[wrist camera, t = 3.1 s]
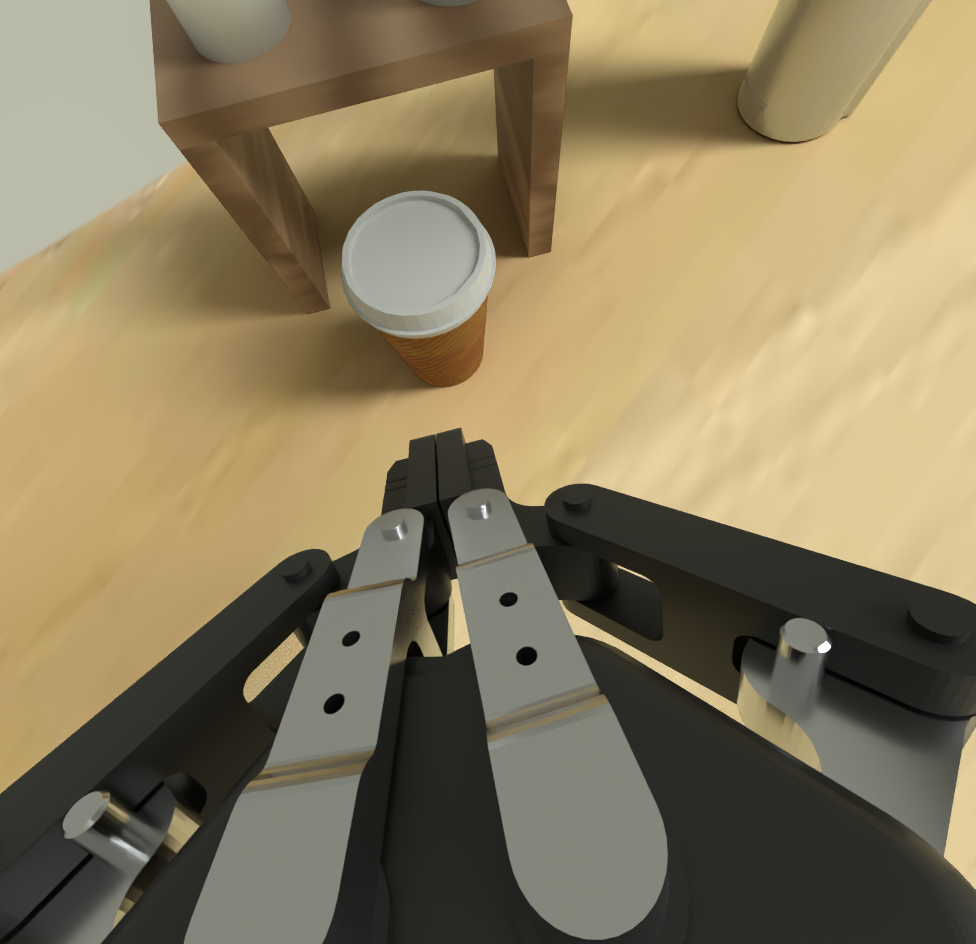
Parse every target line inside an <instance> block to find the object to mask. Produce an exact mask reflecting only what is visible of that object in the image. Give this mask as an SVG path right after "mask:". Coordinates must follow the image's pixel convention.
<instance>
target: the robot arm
mask: <svg viewBox="0 0 976 944" xmlns="http://www.w3.org/2000/svg"><path fill="white" fill-rule="evenodd" d="M931 1H932V0H779V1H778V4H777V6H776V8H775V10H774V13H773V15H772V17H771V19H770V22H769V24H768V26H767V28H766V31H765V33H764V35H763V37H762V40H761V42H760V44H759V46H758V48H757V51H756V53H755V55H754V58H753V60H752V62H751V64H750V67H749V69H748V71H747V73H746V76H745V78H744V80H743V82H742V85H741V87H740V89H739V92H738V97H737V103H738V108H739V111H740V114H741V116H742V117H743V119H744V120H745V122H746V123H747V124H748V125H749V126H750V127H751V128H752V129H754V130H755V131H757V132H759V133H760V134H762V135H764V136H767V137H769V138H772V139H776V140H780V141H789V142H798V141H807V140H810V139H814V138H817V137H819V136H821V135H823V134H825V133H827V132H828V131H829V130H831V129H832V128H833V127H834V126H835V124H836V123H837V122H838V121H839V120H840V119H841V118H842V117H845V116H849V115H851V114H852V113H853V111H854V110H855V109H856V107H857V106H858V104H859V103H860V102H861V100H862V99H863V97H864V96H865V94H866V93H867V92H868V90H869V89H870V87H871V86H872V85H873V83H874V82H875V80H876V79H877V77H878V76H879V75H880V73H881V72H882V70H883V69H884V68H885V66H886V65H887V63H888V62H889V60H890V59H891V58H892V56H893V55H894V53H895V52H896V51H897V49H898V48H899V46H900V45H901V43H902V42H903V41H904V39H905V38H906V36H907V35H908V34H909V32H910V31H911V29H912V28H913V26H914V25H915V24H916V22H917V21H918V19H919V18H920V17H921V15H922V14H923V12H924V11H925V9H926V8H927V7H928V5H929V4H930V2H931ZM618 565H619V566H622V567H624V568H626V569H629V570H631V571H633V572H636V573H638V574H640V575H643V576H645V577H646V578H648V579H649V580H651V581H652V582H650V581H648V580H646V579H643V578H641V577H639V576H637V575H634V574H632V573H630V572H627V571H625V570H623V569H620V568H618ZM457 578H458V582H459V587H460V592H461V597H462V602H463V608H464V613H465V618H466V623H467V628H468V633H469V638H470V644H468V645H466V646H464V647H462V648H460V649H458V650H456V651H454V617H455V604H454V600H453V597H452V595H451V591H452V587H451V580H453V579H457ZM559 600H562V602H563V604H564V606H565V607H566V609H567V610H568V611H570V612H571V613H573V614H574V615H576V616H578V617H580V618H581V619H583V620H585V621H587V622H589V623H590V624H592V625H594V626H596V627H598V628H600V629H601V630H603V631H605V632H607V633H609V634H610V635H612V636H614V637H616V638H618V639H619V640H621V641H623V642H625V643H627V644H628V645H630V646H632V647H634V648H636V649H638V650H639V651H641V652H643V653H645V654H647V655H648V656H650V657H652V658H654V659H656V660H657V661H659V662H661V663H663V664H665V665H666V666H668V667H670V668H672V669H674V670H676V671H677V672H679V673H681V674H683V675H685V676H686V677H688V678H690V679H692V680H694V681H695V682H697V683H699V684H701V685H703V686H704V687H706V688H708V689H710V690H712V691H714V692H715V693H717V694H719V695H721V696H723V697H724V698H726V699H728V700H730V701H732V702H733V703H735V704H737V707H738V711H739V714H740V716H741V719H742V721H743V722H744V724H745V726H746V727H745V726H744V725H742V724H741V723H739V722H737V721H736V720H734V719H732V718H731V717H729V716H727V715H726V714H724V713H723V712H721V711H719V710H718V709H716V708H714V707H713V706H711V705H709V704H708V703H706V702H705V701H703V700H701V699H700V698H698V697H696V696H695V695H693V694H692V693H690V692H688V691H687V690H685V689H683V688H682V687H680V686H678V685H677V684H675V683H674V682H672V681H670V680H669V679H667V678H665V677H664V676H662V675H660V674H659V673H657V672H656V671H654V670H652V669H651V668H649V667H647V666H646V665H644V664H642V663H641V662H639V661H638V660H636V659H634V658H633V657H631V656H629V655H628V654H626V653H624V652H623V651H621V650H619V649H617V648H616V647H613V646H611V645H609V644H607V643H605V642H602V641H599V640H596V639H593V638H589V637H584V636H579V635H574V633H573V631H572V629H571V627H570V624H569V622H568V620H567V618H566V616H565V613H564V611H563V609H562V607H561V605H560V602H559ZM293 632H294V633H295V635H296V637H297V638H298V640H299V641H300V643H301V644H302V646H303V647H304V648H303V649H302V650H301V651H300V652H299V654H298V655H297V656H296V657H295V658H294V659H293V660H292V661H291V662H290V663H289V664H288V665H287V666H286V667H285V668H284V669H283V670H282V671H281V672H280V673H279V674H278V675H277V676H276V677H275V678H274V679H273V680H272V681H271V682H270V683H269V684H268V685H267V686H266V687H265V688H264V689H263V690H262V692H261V693H260V694H259V695H258V696H257V697H256V698H255V699H253V700H252V701H251V702H249V703H248V702H247V701H246V700H245V698H244V695H243V689H244V685H245V682H246V680H247V678H248V677H249V675H250V674H251V673H252V672H253V671H254V670H255V669H256V668H257V667H258V666H259V665H260V664H261V663H262V662H263V661H264V660H265V659H266V658H267V657H268V656H269V655H270V654H271V653H272V652H273V651H274V650H275V649H276V648H277V647H278V646H279V645H280V644H281V643H282V642H283V641H284V640H285V639H286V638H287V637H288V636H289V635H290V634H292V633H293ZM975 728H976V604H974V603H972V602H970V601H969V600H966V599H964V598H962V597H959V596H957V595H954V594H951V593H948V592H945V591H942V590H939V589H936V588H932V587H929V586H926V585H922V584H919V583H916V582H913V581H909V580H906V579H903V578H899V577H896V576H893V575H889V574H886V573H883V572H880V571H876V570H873V569H870V568H866V567H863V566H860V565H856V564H853V563H850V562H847V561H843V560H840V559H837V558H833V557H830V556H827V555H824V554H820V553H817V552H814V551H810V550H807V549H804V548H800V547H797V546H794V545H791V544H787V543H784V542H781V541H777V540H774V539H771V538H767V537H764V536H761V535H758V534H754V533H751V532H748V531H744V530H741V529H738V528H735V527H731V526H728V525H725V524H721V523H718V522H715V521H711V520H708V519H705V518H702V517H698V516H695V515H692V514H688V513H685V512H682V511H678V510H675V509H672V508H669V507H665V506H662V505H659V504H655V503H652V502H649V501H645V500H642V499H639V498H636V497H632V496H629V495H626V494H622V493H619V492H616V491H613V490H609V489H606V488H603V487H599V486H596V485H592V484H573V485H568V486H564V487H562V488H559V489H558V490H556V491H554V492H553V493H551V494H550V495H549V496H548V498H547V499H546V501H545V506H524V505H520V504H517V503H515V502H513V501H511V500H510V499H509V498H508V497H507V495H506V493H505V490H504V486H503V483H502V479H501V476H500V472H499V469H498V465H497V462H496V458H495V454H494V451H493V447H492V445H490V444H489V443H487V442H486V441H484V440H483V439H482V440H478V441H474V442H470V443H465V439H464V436H463V432H462V429H461V428H457V429H453V430H449V431H445V432H441V433H438V434H436V436H435V434H434V435H430V436H426V437H422V438H418V439H414V440H410V444H409V458H406V459H402V460H399V461H396V462H395V463H394V464H393V466H392V467H391V468H390V470H389V471H388V473H387V480H386V486H385V493H384V500H383V506H382V513H381V516H380V517H378V518H377V519H375V520H374V521H373V522H372V523H371V524H370V525H369V526H368V527H367V529H366V530H365V533H364V536H363V539H362V542H361V546H360V548H359V549H357V550H356V551H354V552H352V553H350V554H347V555H345V556H343V557H341V558H339V559H337V560H335V561H332V560H331V558H330V556H329V555H328V553H327V552H326V551H323V550H320V549H310V550H305V551H302V552H299V553H296V554H294V555H292V556H290V557H288V558H286V559H285V560H283V561H282V562H281V563H279V564H278V565H277V566H276V567H274V568H273V569H272V570H271V571H269V572H268V573H267V574H266V575H265V576H263V577H262V578H261V579H260V580H259V581H257V582H256V583H255V584H254V585H253V586H251V587H250V588H249V589H248V590H246V591H245V592H244V593H243V594H242V595H240V596H239V597H238V598H237V599H236V600H234V601H233V602H232V603H231V604H230V605H228V606H227V607H226V608H225V609H224V610H222V611H221V612H220V613H219V614H217V615H216V616H215V617H214V618H213V619H211V620H210V621H209V622H208V623H207V624H205V625H204V626H203V627H202V628H201V629H199V630H198V631H197V632H196V633H194V634H193V635H192V636H191V637H190V638H188V639H187V640H186V641H185V642H184V643H182V644H181V645H180V646H179V647H178V648H176V649H175V650H174V651H173V652H171V653H170V654H169V655H168V656H167V657H165V658H164V659H163V660H162V661H161V662H159V663H158V664H157V665H156V666H155V667H153V668H152V669H151V670H150V671H149V672H147V673H146V674H145V675H144V676H142V677H141V678H140V679H139V680H138V681H136V682H135V683H134V684H133V685H132V686H130V687H129V688H128V689H127V690H126V691H124V692H123V693H122V694H121V695H119V696H118V697H117V698H116V699H115V700H113V701H112V702H111V703H110V704H109V705H107V706H106V707H105V708H104V709H103V710H101V711H100V712H99V713H98V714H96V715H95V716H94V717H93V718H92V719H90V720H89V721H88V722H87V723H86V724H84V725H83V726H82V727H81V728H80V729H78V730H77V731H76V732H75V733H74V734H72V735H71V736H70V737H69V738H67V739H66V740H65V741H64V742H63V743H61V744H60V745H59V746H58V747H57V748H55V749H54V750H53V751H52V752H51V753H49V754H48V755H47V756H46V757H44V758H43V759H42V760H41V761H40V762H38V763H37V764H36V765H35V766H34V767H32V768H31V769H30V770H29V771H28V772H26V773H25V774H24V775H23V776H21V777H20V778H19V779H18V780H17V781H15V782H14V783H13V784H12V785H11V786H9V787H8V788H7V789H6V790H5V791H3V792H2V793H1V794H0V944H976V890H975V889H974V888H973V886H972V885H971V884H970V883H969V882H968V881H967V880H966V879H965V878H964V876H963V875H962V874H961V873H960V872H959V871H958V870H957V869H956V868H955V867H954V866H953V865H952V864H951V863H949V862H948V861H947V860H946V859H945V858H944V851H945V846H946V840H947V834H948V828H949V822H950V816H951V811H952V805H953V799H954V793H955V787H956V781H957V776H958V770H959V764H960V758H961V752H962V749H963V747H964V746H965V744H966V743H967V741H968V739H969V738H970V736H971V734H972V733H973V731H974V729H975Z"/></svg>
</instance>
